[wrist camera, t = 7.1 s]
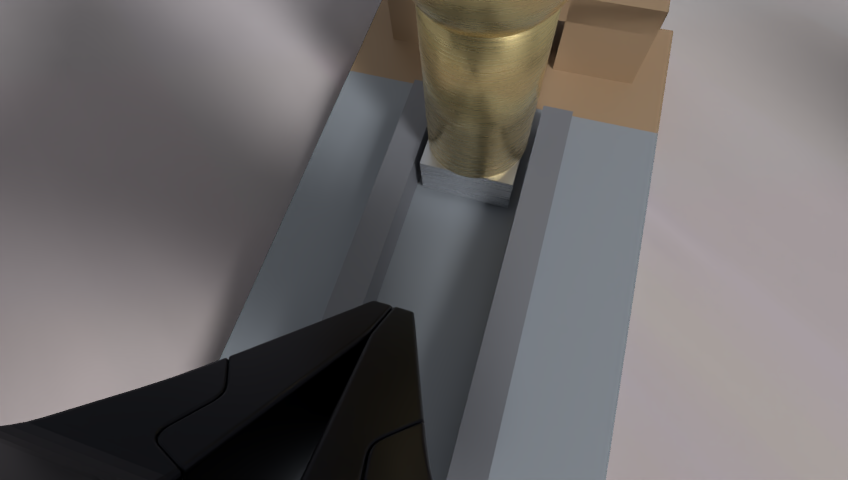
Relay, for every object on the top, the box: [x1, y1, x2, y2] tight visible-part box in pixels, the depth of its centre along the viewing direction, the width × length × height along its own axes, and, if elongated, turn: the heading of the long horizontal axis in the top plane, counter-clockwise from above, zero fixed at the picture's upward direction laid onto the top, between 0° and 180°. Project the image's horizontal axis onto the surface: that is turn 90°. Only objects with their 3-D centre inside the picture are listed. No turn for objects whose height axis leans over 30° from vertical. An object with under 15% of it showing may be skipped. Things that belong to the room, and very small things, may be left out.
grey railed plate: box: [220, 0, 673, 480], centre depth 15 cm, size 21×12×5 cm, turn 163°
